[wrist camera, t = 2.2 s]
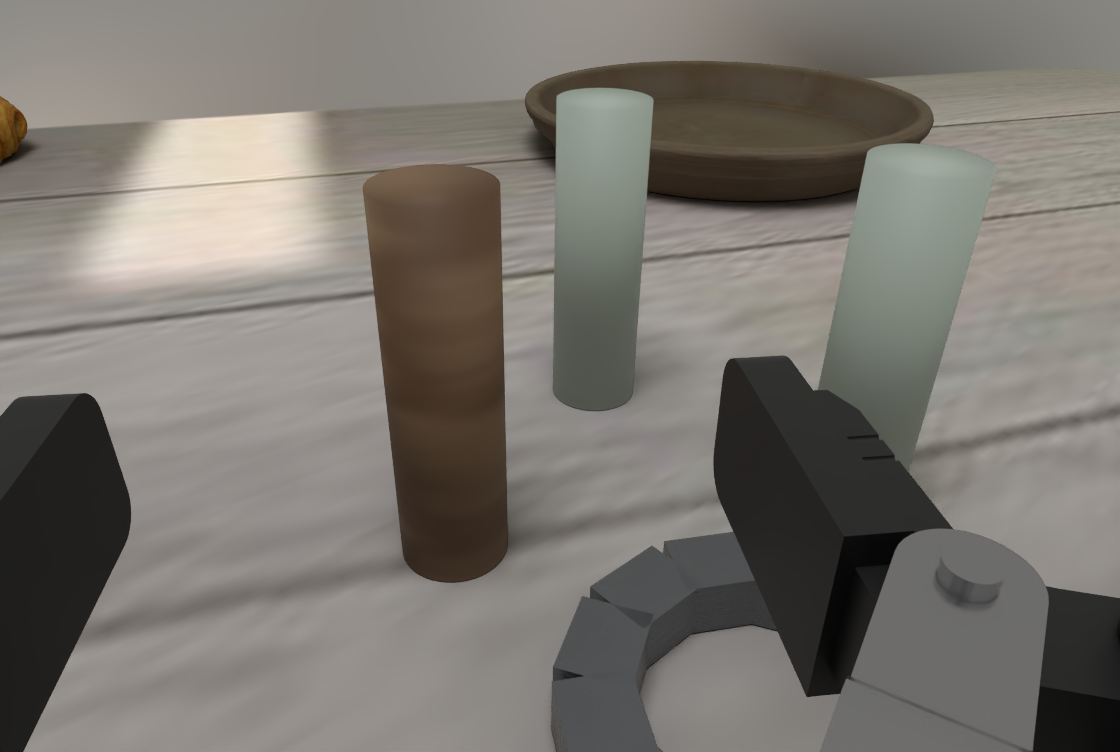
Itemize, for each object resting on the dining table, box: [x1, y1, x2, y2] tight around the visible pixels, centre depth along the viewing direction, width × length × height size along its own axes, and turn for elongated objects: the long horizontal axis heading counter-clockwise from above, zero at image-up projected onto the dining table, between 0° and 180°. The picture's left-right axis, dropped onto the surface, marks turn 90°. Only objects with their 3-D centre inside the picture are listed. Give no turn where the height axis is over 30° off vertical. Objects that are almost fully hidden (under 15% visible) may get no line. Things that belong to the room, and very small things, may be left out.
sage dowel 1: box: [553, 88, 654, 411], centre depth 32 cm, size 3×3×12 cm
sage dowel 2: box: [818, 143, 997, 471], centre depth 26 cm, size 3×3×12 cm
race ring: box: [551, 532, 777, 752], centre depth 21 cm, size 11×11×2 cm
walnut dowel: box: [363, 164, 508, 582], centre depth 24 cm, size 3×3×12 cm
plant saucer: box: [525, 61, 934, 201], centre depth 66 cm, size 31×31×5 cm
